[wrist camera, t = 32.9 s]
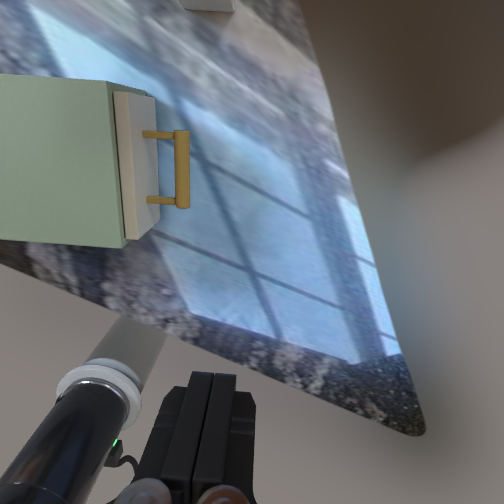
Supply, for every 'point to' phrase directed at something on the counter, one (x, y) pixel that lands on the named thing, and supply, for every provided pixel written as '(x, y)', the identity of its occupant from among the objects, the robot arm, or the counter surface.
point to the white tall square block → (209, 5)
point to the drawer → (145, 163)
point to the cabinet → (60, 161)
